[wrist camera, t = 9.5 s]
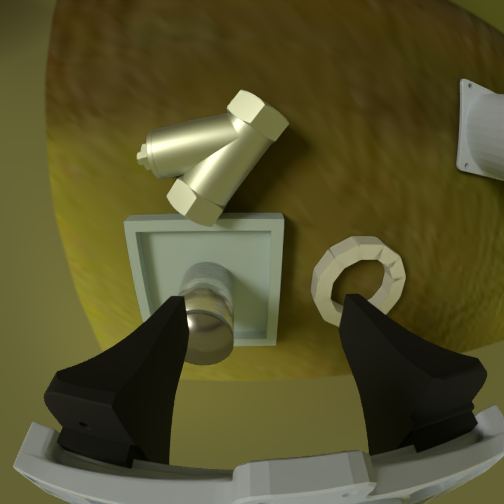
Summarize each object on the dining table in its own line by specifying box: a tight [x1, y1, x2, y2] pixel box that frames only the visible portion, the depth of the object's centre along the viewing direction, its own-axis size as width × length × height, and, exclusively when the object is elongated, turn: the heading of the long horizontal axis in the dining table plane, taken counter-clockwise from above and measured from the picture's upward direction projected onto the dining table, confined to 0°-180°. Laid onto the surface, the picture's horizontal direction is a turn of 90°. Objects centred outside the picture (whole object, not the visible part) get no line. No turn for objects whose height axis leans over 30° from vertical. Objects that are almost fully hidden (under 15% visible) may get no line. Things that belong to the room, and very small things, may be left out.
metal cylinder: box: [177, 262, 234, 365], centre depth 19 cm, size 4×4×6 cm
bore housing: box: [311, 236, 406, 327], centre depth 22 cm, size 8×8×2 cm
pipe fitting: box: [137, 90, 289, 227], centre depth 17 cm, size 8×4×7 cm
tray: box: [123, 213, 284, 346], centre depth 22 cm, size 11×11×1 cm
